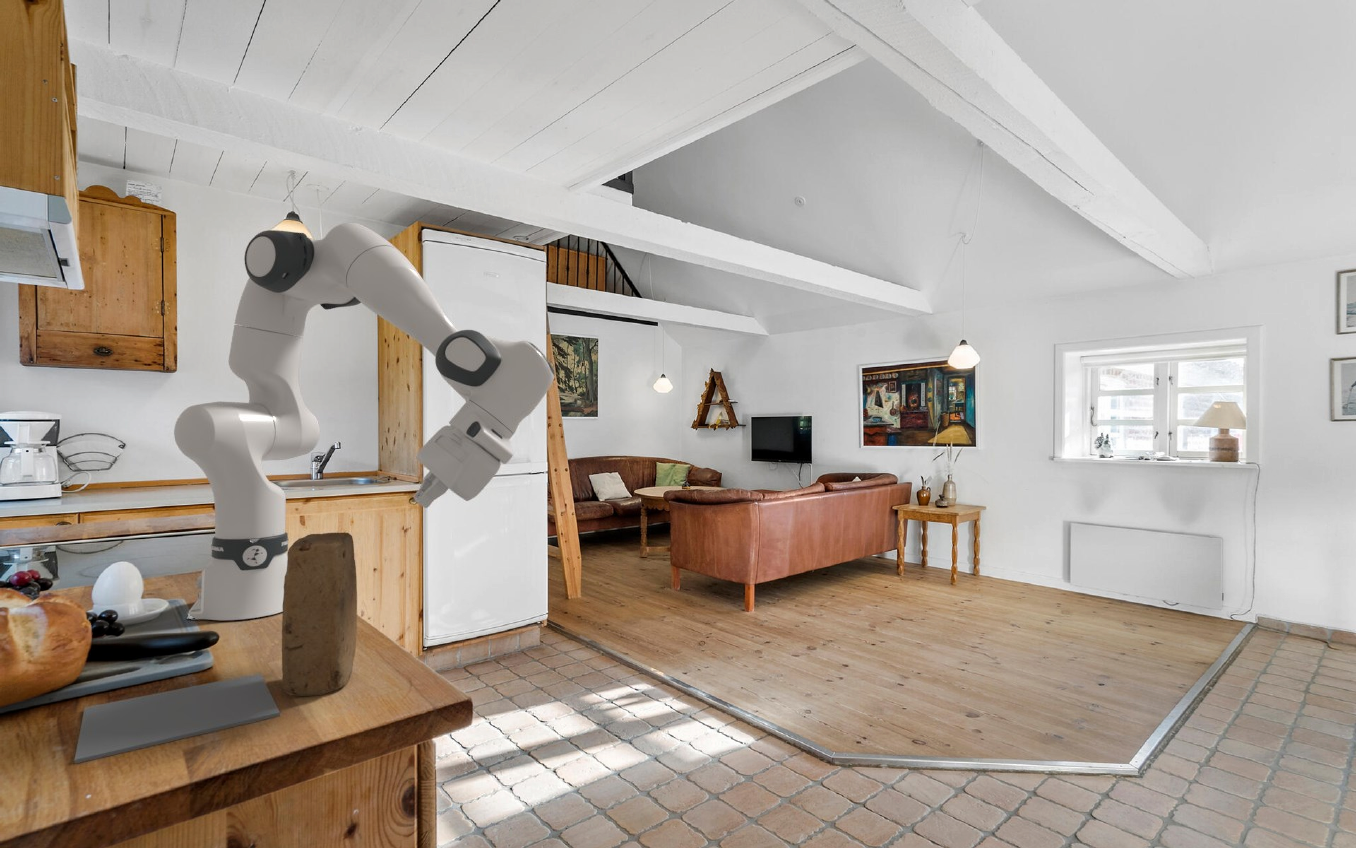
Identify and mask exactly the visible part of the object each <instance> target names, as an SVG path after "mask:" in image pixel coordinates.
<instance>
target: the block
mask: <svg viewBox="0 0 1356 848" xmlns="http://www.w3.org/2000/svg"><path fill="white" fill-rule="evenodd" d="M354 545H355V544H354V539H353V535H352V534H350V533H349V532H327V533H326V532H325V533H311V534H307V535H305V536H304V537H300V538H298V539H297V540H295V541H294V542H293V543H292V545H290V547H288V551H287V555H288V560H287V571H286V575H285V580H284V597H283V612H282V617H281V619H282V620H281V621H282V624H281V626H282V628H281V670H282V687H283V689H284V691H285V693H287V694H289V695H291V696H292V695H293V696H302V697H308V696H309V697H310V696H317V695H318V696H319V695H320V696H321V695H325V694H328V693H331V692H334V691H337V690H339V689H341V688H343V687H345V686H346V685H348V682H349V681H350V679H351V675H352V674H353V667H354V660H355V655H356V650H357V647H356V646H357V645H356V644H357V631H358V630H357V629H358V628H357V627H358V625H357V623H358V622H357V619H358V585H357V584H358V583H357V582H358V580H357V568H356V567H357V565H356V559H355V546H354Z"/></svg>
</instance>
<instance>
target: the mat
mask: <svg viewBox="0 0 1356 848" xmlns="http://www.w3.org/2000/svg"><path fill="white" fill-rule="evenodd" d="M280 716H281V711H280V709H279V708H278V706H277V704H276V702H275V700H274V697H273V696H272V693H271V692H270V690H269V687H268V685H267V684H266V682H265V679H264V677H263V675H262V673H261V672H260V673H259V672H258V673H256V674H251V675H250V674H249V675H243V676H240V677H234V678H229V679H224V680H219V681H214V682H209V683H204V684H198V685H193V686H187V687H183V688H177V689H171V690H168V691H167V690H166V691H162V692H157V693H151V694H148V695H141V696H136V697H132V698H126V699H120V700H118V701H115V700H114V701H110V702H106V703H102V704H101V703H100V704H96V705H90V706H85V707H84V709H83V714H82V719H81V725H80V730H79V735H78V741H77V746H76V750H75V755H74V759H73V760H74V763H73V765H75V764H80V763H83V762H88V761H92V760H93V761H94V760H98V759H101V758H105V757H110V756H114V755H118V754H124V753H127V752H131V751H135V750H140V749H144V748H148V747H152V746H153V747H154V746H157V745H160V744H161V745H162V744H166V743H169V742H173V741H174V742H175V741H177V740H182V739H186V738H187V739H188V738H191V737H195V736H199V735H204V734H207V733H212V732H217V731H220V730H224V729H228V728H230V729H231V728H233V727H237V726H241V725H242V726H243V725H246V724H250V723H255V722H259V721H263V720H264V721H265V720H268V719H271V718H272V719H273V718H277V717H280Z"/></svg>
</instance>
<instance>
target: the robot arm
mask: <svg viewBox="0 0 1356 848" xmlns="http://www.w3.org/2000/svg"><path fill="white" fill-rule="evenodd" d="M244 266H245V270H246V273H247V275H248V280H247V281H246V284H245V286H244V289H243V291H242V293H241V296H240V300H239V304H238V306H237V309H236V314H235V319H234V326H233V331H232V338H231V342H230V349H229V356H228V366H229V368H230V370H231V371H232V373H233V374H234V375H235V376H236V377H238V378H239V379H240V380H242V381H244V383H245V384H246V387H247V390H248V394H249V397H248V398H249V399H248V402H237V401H236V402H235V401H215V402H214V401H213V402H207V403H200V404H195V405H191V406H188V407H186V408H185V409H184V410H183V411H182V412H181V413H180V414H179V416H178V418H177V419H176V422H175V425H174V428H173V435H174V440H175V444H176V446H177V447H178V449H179V451H181V453H182V454H183V455H184V456H185V457H187V458H188V459H190V460H192V461H193V462H194V463H195V464H196V465H197V466H198V467H199V468H200V469H201V471H202V472H203V473H204V475H205V476H206V478H207V480H208V483H209V484H210V488H211V490H212V493H213V495H212V496H213V499H214V500H213V501H214V518H215V519H214V521H215V523H214V526H215V527H214V532H215V533H214V535H215V536H214V537H212V541H211V546H210V549H211V555H210V556H211V558H213V559H212V560H211V562H210V564H208V566H206V567H205V569H204V570H202V571H201V574H200V575H199V576H198V577H197V579H196V588H197V590H201V591H199V592H198V594H197V597H198V598H197V600H196V601H195V602H194V604H193V605H192V606H191V607H190V609H189V611H188V612H189V613H188V612H187V613H188V614H190V616H192V617H193V618H195V619H194V620H212V621H235V620H236V621H238V620H248V619H255V618H260V617H261V618H262V617H266V616H272V615H276V614H279V613H283V597H284V580H285V575H286V571H287V560H288V550H289V547H288V546H289V537H288V535H289V534H288V532H286V516H287V515H286V512H287V511H286V509H287V508H286V506H287V504H286V499H287V496H286V494H285V491H284V490H283V489H282V488H281V486H279V485H277V484H275V483H273V482H272V481H270V480H269V479H268V477H267V476H266V474H265V471H264V469H263V465H262V462H265V461H283V460H285V461H286V460H291V459H295V458H298V457H300V456H305V455H307V454H309V453H311V452H312V451H313V450H314V449H315V448H316V446H317V445H318V442H319V440H320V434H321V429H320V424H319V422H318V419H317V417H316V416H315V415H314V413H312V411H310V410H309V408H308V407H307V406H306V404H305V401H304V399H303V396H302V393H301V388H300V382H299V378H300V377H299V371H300V364H301V363H300V362H301V354H302V348H303V341H304V334H305V328H306V319H307V316H308V313H309V311H310V310H312V308H314V307H315V306H318V305H320V306H321V308H322V309H324V310H326V311H327V310H332V309H337V308H346V307H352V306H357V305H359V304H362V305H364V306H365V307H366V308H368V309H369V310H370V311H371V312H373V313H375V315H377V316H379V317H380V318H381V319H383V320H385V321H386V322H388V323H389V324H391V325H393V326H394V327H395V328H397V329H398V330H400V331H402V332H403V333H405V334H406V335H407V336H409V337H411V338H412V339H413V340H415V341H416V342H417V343H419V345H421V346H423V347H424V348H425V349H426V350H428V351H429V353H431V355H433V356H434V357H435V359H434V360H435V361H434V362H435V366H436V369H437V370H438V372H439V374H440V376H441V377H442V379H443V380H445V382H446V383H447V384H448V385H449V386H450V387H451V388H452V389H453V390H455V392H456V393H457V394H458V395H460V397H461V398H462V399H464V400H465V403H464V404H463V405H462V406H461V407H460V409H459V410H458V411H457V412H456V413H455V415H454V416H453V417H452V418H451V419H450V421H448V423H449V425H448V424H447V425H444V426H442V427H441V428H440V429H439V430H437V432H435V433H434V434H433V436H432V437H430V438H429V439H428V440H427V442H426V443H425V444H424V445H423V446H422V447H421V449H420V450H419V451H418V452H417V455H416V458H415V459H416V460H417V461H418V462H419V463H420V464H421V465H422V466H423V467H425V469H427V470H428V472H427V474H426V475H425V476H424V478H423V480H422V482H421V484H420V487H419V489H418V490H417V491H416V492H415V493H414V495H413V499H414V500H415V501H416V502H417V504H418V505H419V506H421V507H422V508H424V509H428V508H429V507H430V506H431V504H432V503H433V502H434V501H435V500H437V499H438V498H440V497H442V496H443V495H444V494H446V492H447V491H448V490H450V491H451V492H452V493H454V494H455V495H457V496H458V497H459V498H460V499H463V501H464V500H465V501H466V502H469V501H471V500H472V499H474V498H476V497H477V496H478V495H479V494H480V493H481V492H482V491H483V490H484V489H485V487H486V486H487V485H488V484H489V483H490V482H491V480H492V479H493V478H494V477H495V476H496V474H497V473H498V471H500V468H501V464H503V465H506V464H507V463H509V461H511V459H512V458H513V456H514V450H513V448H512V445H511V440H510V439H512V437H513V436H514V434H515V433H516V431H517V429H518V426H519V425H520V424H521V422H522V421H523V420H524V419H525V418H527V417H528V416H529V415H530V414H532V413H533V411H534V410H535V409H536V408H537V407H538V405H539V404H540V402H541V401H542V399H543V398H544V397H545V395H546V394H547V392H548V391H549V389H550V388H551V386H552V384H553V382H554V379H555V375H556V374H555V369H554V367H553V365H552V364H551V362H550V360H549V359H548V358H547V357H546V355H545V354H544V353H543V352H542V351H541V350H540V349H539V348H538V347H537V346H536V345H535V344H534V343H531V342H530V341H528V340H520V341H519V340H518V341H509V340H502V339H498V338H494V337H491V336H488V335H485V334H482V333H481V332H480V331H477V330H474V329H461V330H459V329H458V328H456V327H455V325H454V324H453V323H452V322H451V321H450V319H449V318H448V317H447V315H446V314H445V312H444V310H442V307H441V305H440V304H439V303H438V301H437V299H436V298H435V296H434V295H433V293H432V292H431V290H430V288H429V287H428V285H427V283H426V282H425V280H424V279H423V277H422V276H421V275H420V273H419V271H418V270H417V269H416V267H415V266H414V265H413V264H412V263H411V262H410V260H409V259H408V258H407V257H406V256H405V255H404V254H403V252H401V251H400V249H398V248H397V247H396V246H395V245H394V244H392V243H391V242H390V241H388V240H387V239H386V238H384V237H383V236H381V235H380V234H379V233H377V232H375V231H374V230H372V229H371V228H368V227H367V226H364V225H362V224H361V223H356V222H343V223H340V224H337V225H335V226H334V227H332V228H331V229H330V230H329V231H328V232H327V234H326V235H325V237H324V238H321V239H314V238H313V237H312V238H311V237H310V236H307V235H306V233H304V232H298V231H297V232H294V231H288V230H278V229H277V230H274V229H272V230H269V229H268V230H263V231H261V232H258V233H257V234H256V235H254V237H252V239H251V240H250V241H249V242H248V244H247V246H246V248H245V252H244Z"/></svg>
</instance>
